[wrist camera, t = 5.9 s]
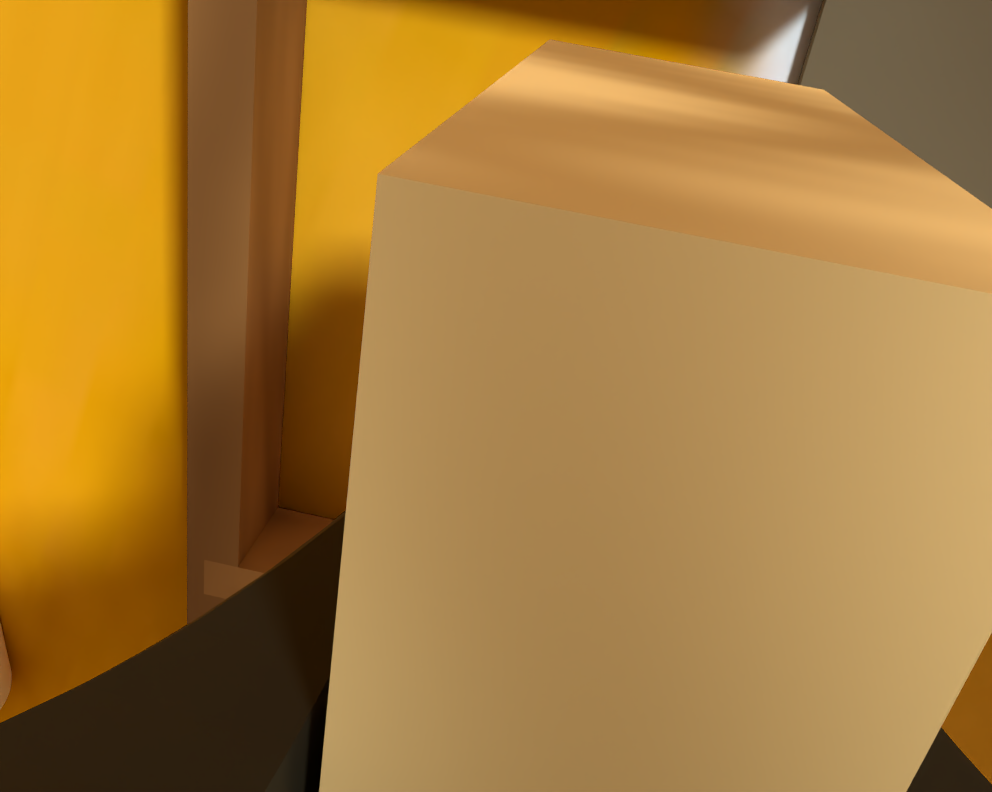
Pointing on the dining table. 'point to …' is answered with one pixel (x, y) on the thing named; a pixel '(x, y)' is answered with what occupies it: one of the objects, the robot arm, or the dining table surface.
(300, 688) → the robot arm
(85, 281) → the dining table surface
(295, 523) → the rack
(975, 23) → the mat
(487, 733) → the tan wooden block
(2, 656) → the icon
